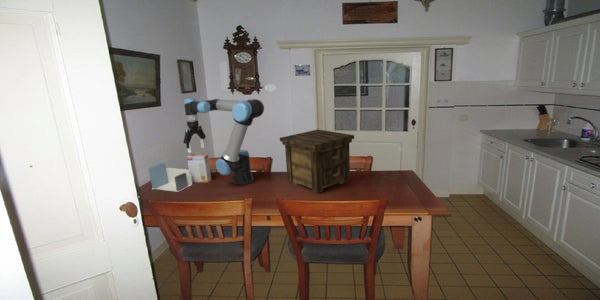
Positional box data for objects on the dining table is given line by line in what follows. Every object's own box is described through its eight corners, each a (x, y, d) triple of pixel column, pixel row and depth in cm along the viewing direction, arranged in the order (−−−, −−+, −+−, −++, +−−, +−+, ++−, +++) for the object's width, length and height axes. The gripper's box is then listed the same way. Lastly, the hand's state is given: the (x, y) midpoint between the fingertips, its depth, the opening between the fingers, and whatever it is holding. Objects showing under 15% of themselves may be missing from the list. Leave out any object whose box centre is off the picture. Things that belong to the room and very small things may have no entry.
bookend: (187, 186, 214) (185, 172, 212) (178, 191, 206) (176, 177, 204) (186, 186, 215) (184, 172, 212) (176, 190, 207) (174, 177, 204)
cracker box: (212, 181, 226) (208, 154, 220) (207, 184, 220) (203, 156, 215) (195, 180, 229) (191, 153, 224) (190, 183, 223) (186, 156, 218)
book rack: (192, 186, 218) (189, 164, 214) (178, 193, 205) (174, 170, 201) (167, 183, 227) (163, 162, 223) (152, 189, 215) (147, 168, 211)
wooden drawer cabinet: (319, 171, 234) (317, 129, 226) (354, 182, 208) (354, 135, 200) (282, 183, 213) (279, 137, 205) (317, 197, 187) (314, 145, 178)
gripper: (200, 117, 226) (203, 145, 231) (174, 123, 204) (179, 154, 209) (208, 117, 223) (211, 146, 228) (183, 123, 201) (188, 155, 206)
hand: (196, 150), depth 219 cm, fingers open, 13 cm apart
